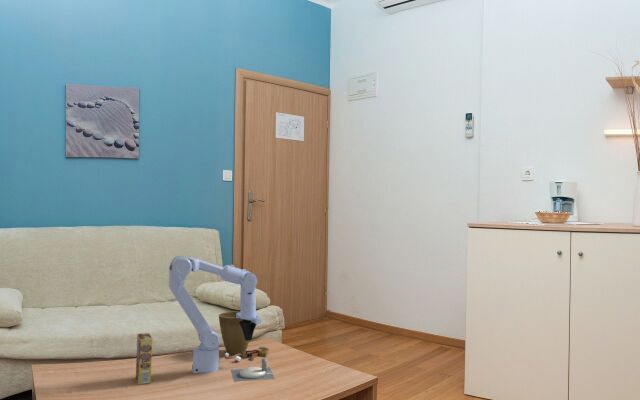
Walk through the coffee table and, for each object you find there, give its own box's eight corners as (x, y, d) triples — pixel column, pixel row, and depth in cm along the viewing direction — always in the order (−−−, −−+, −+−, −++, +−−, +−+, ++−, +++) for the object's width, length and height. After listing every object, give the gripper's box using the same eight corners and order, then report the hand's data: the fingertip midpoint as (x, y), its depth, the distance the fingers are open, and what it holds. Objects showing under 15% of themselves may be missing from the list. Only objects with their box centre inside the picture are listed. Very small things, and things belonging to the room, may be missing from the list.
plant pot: (259, 354, 206) (260, 315, 207) (225, 359, 199) (225, 319, 199) (246, 346, 219) (246, 309, 220) (213, 350, 212) (213, 312, 212)
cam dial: (239, 378, 173) (240, 363, 173) (239, 370, 182) (240, 356, 182) (267, 377, 174) (267, 362, 174) (266, 369, 183) (266, 355, 183)
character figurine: (224, 361, 198) (224, 351, 198) (262, 353, 210) (262, 343, 210) (237, 367, 191) (237, 356, 191) (275, 358, 203) (275, 348, 203)
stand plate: (234, 384, 170) (234, 381, 170) (231, 372, 183) (231, 369, 183) (275, 381, 174) (275, 378, 174) (269, 370, 186) (269, 367, 186)
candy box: (151, 383, 171) (152, 338, 171) (138, 385, 169) (139, 339, 169) (148, 375, 179) (149, 332, 179) (135, 377, 177) (136, 333, 177)
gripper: (267, 305, 186) (268, 342, 186) (247, 299, 197) (247, 334, 197) (251, 307, 182) (251, 345, 181) (231, 302, 193) (231, 337, 193)
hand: (248, 340), depth 189 cm, fingers closed
